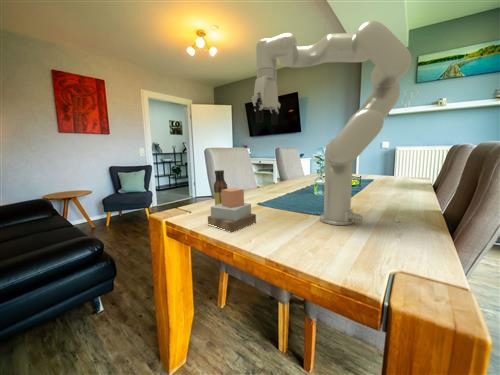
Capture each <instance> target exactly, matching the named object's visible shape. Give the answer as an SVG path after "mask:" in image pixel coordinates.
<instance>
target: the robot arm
mask: <svg viewBox="0 0 500 375" xmlns="http://www.w3.org/2000/svg"><path fill="white" fill-rule="evenodd" d="M255 51H256V53H255V55H256V56H255V57H256V61H255V62H256V79H255V83H254V89H253V96H252V97H251V102H252V106H253V108H254V110H253V111H254V112H255V123H257V124H258V123H263V122H264V110H269V111H270V125H272V126H273V125H278V124H279V113H280V109H281V103H280V102H279V93H278V92H279V91H278V85H277V84H278V83H277V81H278V80H277V77H278V75H277V60H279V62H280V64H281V65H282V66H284V67H287V68H308V67H313V66H318V65H322V64H324V63H363V62H366V61H369V60H370V61H371V62H372V63H373V64H374V65H375V66H374V68H373V69H372V71H371V74H370V75H371V76H370V82H371V85H372V93H371V94H370V95H369V96H368V98H367V99H366V100H365V102H364V103H363V104H362V105H361V106H360V107H359V109H358V110H357V111H356V112H355V113H354V114H353V115H351V117H350V118H348V119H349V120H347V123H346V124H345V126H344V127H343V128H342V129H341V130H340V131H339V132H338V134H337V135H336V136H335V137H334V138H332V139H331V140H330V141H329V142H328V143H327V144H326V147H325V150H324V189H323V190H324V194H323V197H324V198H323V201H324V202H323V203H324V204H323V214H321V215H319V220H320V221H321V222H323V223H325V224H329V225H333V226H334V225H335V226H348V225H352V224H354V223H355V220H356V221H363V215H361V213H355V212H354V210H353V209H351V207H352V206H351V205H352V203H351V202H352V188H353V187H352V184H353V183H352V182H353V161H355V160H356V159H357V158H358V157H359V156H360V155H361V154H362V153H363V152H364V151H365V149H367V148H368V146H369V145H370V144H371V143H372V142H373V141H374V139H376V138H377V136H378V135H379V134H380V133H381V131H382V129H383V127H384V121H385V120H384V119H385V118H386V117H387V115H388V114H389V113H390V112H391V111H392V110H393V108H394V107H395V106H396V104H397V102H398V100H399V97H400V93H401V92H400V90H401V87H400V81H399V79H400V78H402V77H403V76H404V75H406V73H407V72H408V71H409V69H410V67H411V65H412V54H411V52H410V51H409V49H408V48H407V46H406V45H405V44H404V43H403V42H402V41H401V40H400V39H399V38H398V37H397V36H396V35H395V34H394V33H393V32H392V30H390V28H388V27H387V26H386V25H385V24H383V23H382V22H379V21H377V20H369V21H368V20H367V21H366V22H364V23H362V24H361V25H360V26H359V27H358V28H357V30H356V32H340V33H339V32H338V33H328V34H326V35H324V36H323V37H322V38H321V39H320V40H319V41H317V42H316V43H314V44H312V45H311V44H310V45H306V46H298V43H297V38H296V36H295V35H294V34H293V33H291V32H284V33H281V34H279V35H275V36H274V37H270V38H269V37H268V38H267V37H265V38H262V39H259V40H258V41H257V43H256V45H255Z"/></svg>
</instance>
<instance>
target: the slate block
mask: <svg viewBox="0 0 500 375" xmlns="http://www.w3.org/2000/svg"><path fill="white" fill-rule="evenodd" d="M249 214H252V203H249V202H248V203H247V202H244V205H242V206H238V207H233V208H230V207H227V206H223V205H222V203H221V204H218V205H215V204H214V205H213V206H210V216H211V217H212V218H218V219H224V220H230V221H237V220H239V219H241V218H243V217H245V216H247V215H249Z"/></svg>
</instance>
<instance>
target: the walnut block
mask: <svg viewBox="0 0 500 375" xmlns="http://www.w3.org/2000/svg"><path fill="white" fill-rule="evenodd" d="M253 223H255V224H257V214H256V213H251V214H249V215H247V216H245V217H243V218H241V219H239V220H237V221H230V220H224V219H218V218H212V217H211V215H210V216H207V225H208V224H211V225H214V226H217V227H219V228H222V229H225V230H228V231H230V232H229V233H232V232H233V233H235V232H237V231H239V229H240V230H242V229H244V227H245V228H246V226H247V227H249V225H250V226H252V225H254V224H253ZM251 224H252V225H251ZM219 228H218V229H219ZM222 229H221V230H222ZM225 230H224V231H225ZM236 230H237V231H236ZM228 231H227V232H228ZM234 231H235V232H234Z"/></svg>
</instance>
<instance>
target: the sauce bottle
mask: <svg viewBox="0 0 500 375" xmlns="http://www.w3.org/2000/svg"><path fill="white" fill-rule="evenodd" d="M214 174H215V182H214V183H213V195H214V206H215V205H218V204H221V203H222V192H221V190H224V189H229V187H228V184H227V182H226V181H225V170H224V169H216V170H214Z"/></svg>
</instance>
